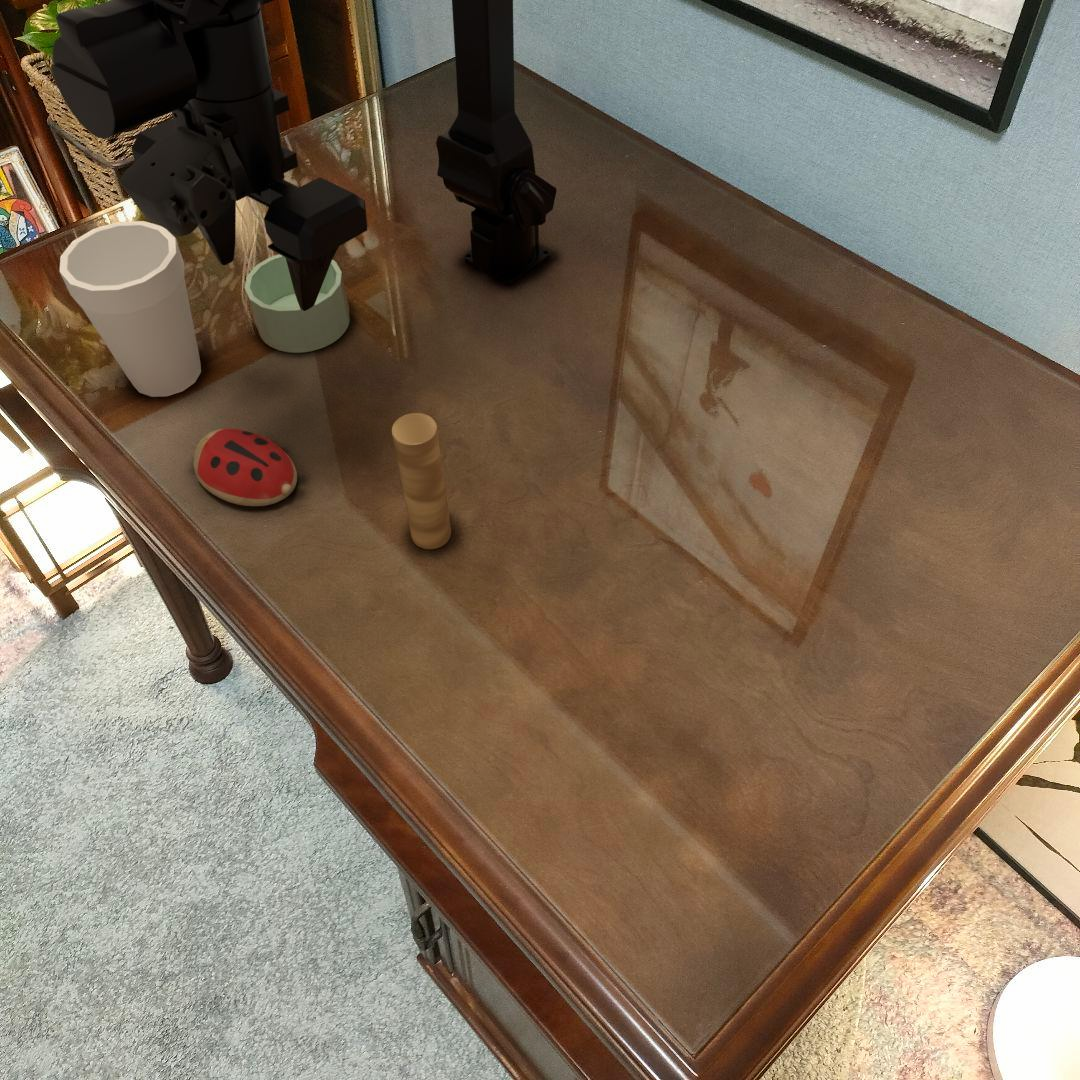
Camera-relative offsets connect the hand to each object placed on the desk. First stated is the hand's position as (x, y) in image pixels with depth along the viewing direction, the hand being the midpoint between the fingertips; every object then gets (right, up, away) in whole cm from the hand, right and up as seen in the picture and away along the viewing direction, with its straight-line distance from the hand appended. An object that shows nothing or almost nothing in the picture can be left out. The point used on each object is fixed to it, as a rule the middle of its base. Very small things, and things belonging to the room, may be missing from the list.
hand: (266, 285), depth 79 cm
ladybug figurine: (-3, -15, +7) cm, 16 cm away
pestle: (+12, -19, +3) cm, 23 cm away
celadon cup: (-2, +1, +19) cm, 19 cm away
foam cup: (-13, -4, +15) cm, 21 cm away
